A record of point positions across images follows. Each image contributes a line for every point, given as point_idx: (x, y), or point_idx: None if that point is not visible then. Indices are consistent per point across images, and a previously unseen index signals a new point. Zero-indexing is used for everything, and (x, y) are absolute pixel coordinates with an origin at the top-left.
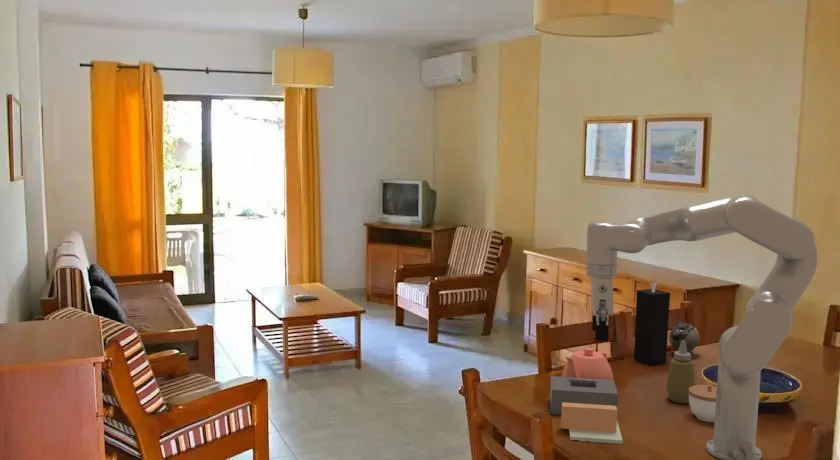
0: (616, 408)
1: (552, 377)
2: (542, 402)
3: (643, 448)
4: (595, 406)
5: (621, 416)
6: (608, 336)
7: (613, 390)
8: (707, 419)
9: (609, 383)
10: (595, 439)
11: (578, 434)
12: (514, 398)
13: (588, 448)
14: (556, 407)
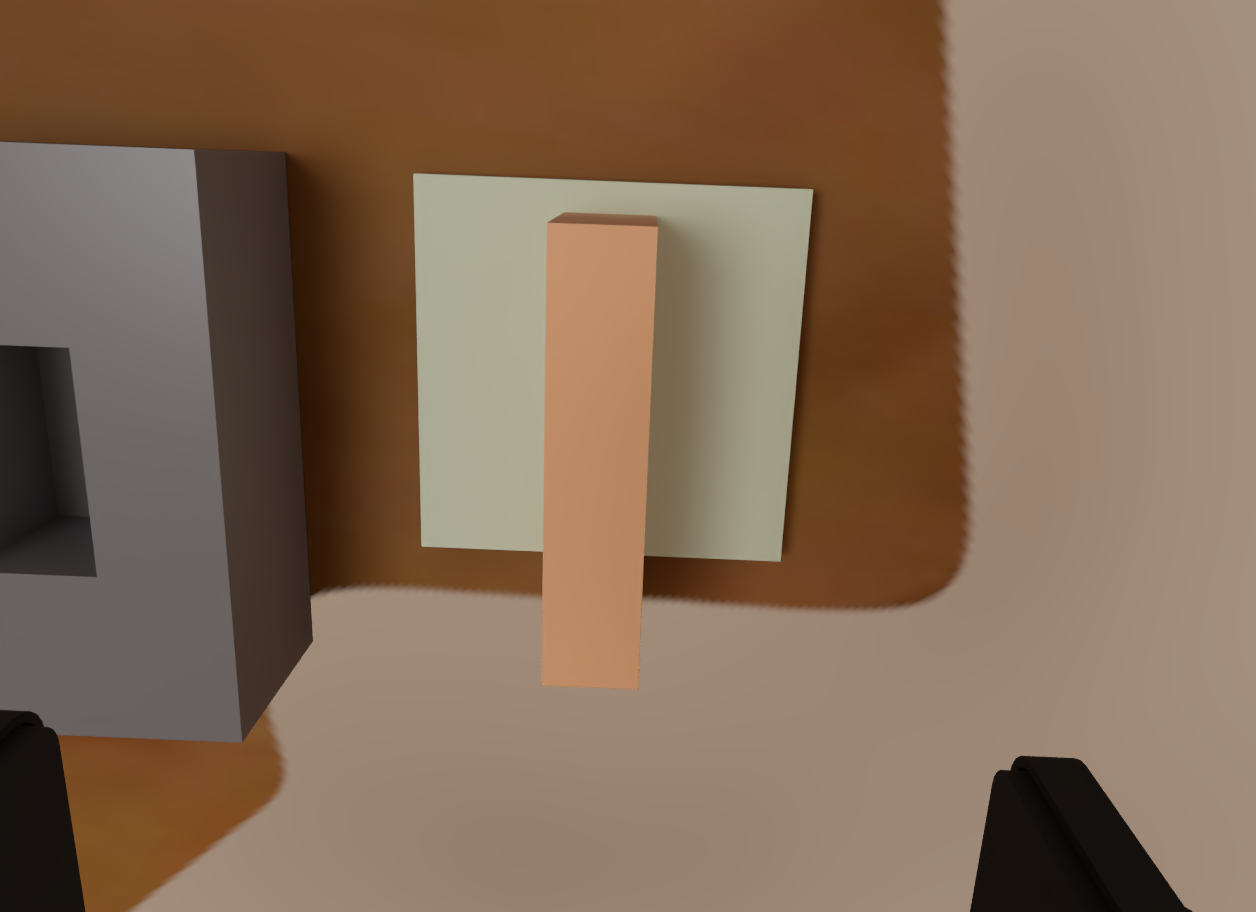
0: (617, 229)
1: None
2: None
3: (872, 32)
4: (596, 419)
5: (229, 105)
6: (1118, 819)
7: (99, 183)
8: None
9: None
10: (794, 389)
11: (736, 503)
12: None
13: (900, 443)
14: (293, 628)
